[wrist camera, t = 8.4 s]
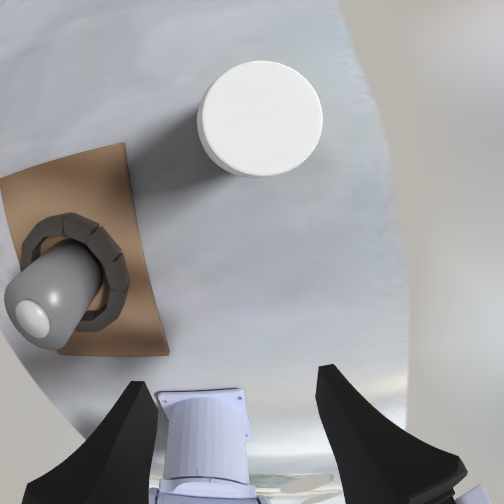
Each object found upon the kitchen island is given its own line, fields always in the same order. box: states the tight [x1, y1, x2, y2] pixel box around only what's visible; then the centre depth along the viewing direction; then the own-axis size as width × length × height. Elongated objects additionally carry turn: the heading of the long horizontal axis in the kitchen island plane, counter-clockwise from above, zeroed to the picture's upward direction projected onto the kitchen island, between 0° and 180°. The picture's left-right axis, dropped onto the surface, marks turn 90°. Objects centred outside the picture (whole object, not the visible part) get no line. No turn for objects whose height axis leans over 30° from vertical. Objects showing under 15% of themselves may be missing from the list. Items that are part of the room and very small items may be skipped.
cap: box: [4, 239, 104, 350], centre depth 15 cm, size 5×5×6 cm
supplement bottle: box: [197, 61, 323, 178], centre depth 12 cm, size 5×5×8 cm
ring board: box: [0, 143, 170, 357], centre depth 18 cm, size 16×11×2 cm
